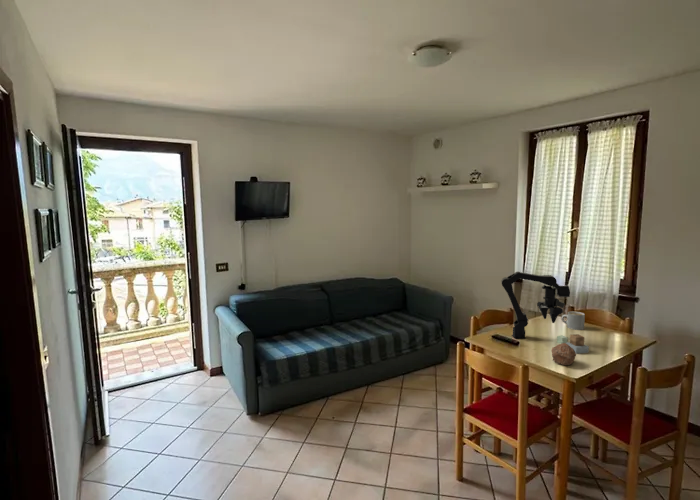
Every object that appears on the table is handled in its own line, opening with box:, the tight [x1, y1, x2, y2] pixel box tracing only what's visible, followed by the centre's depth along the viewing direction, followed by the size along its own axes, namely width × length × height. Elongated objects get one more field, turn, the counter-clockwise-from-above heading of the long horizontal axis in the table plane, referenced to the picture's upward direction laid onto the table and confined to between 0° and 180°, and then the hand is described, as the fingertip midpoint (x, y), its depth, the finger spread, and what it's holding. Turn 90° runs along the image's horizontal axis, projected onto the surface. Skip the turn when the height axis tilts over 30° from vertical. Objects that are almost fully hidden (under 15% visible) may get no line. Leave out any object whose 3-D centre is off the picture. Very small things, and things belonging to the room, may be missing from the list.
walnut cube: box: [569, 334, 585, 346], centre depth 217 cm, size 5×5×5 cm
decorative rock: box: [550, 343, 577, 366], centre depth 200 cm, size 13×11×10 cm
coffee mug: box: [561, 311, 586, 331], centre depth 260 cm, size 13×10×10 cm
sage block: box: [556, 334, 569, 344], centre depth 230 cm, size 4×4×4 cm
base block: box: [566, 341, 590, 355], centre depth 217 cm, size 8×8×4 cm
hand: (549, 320), depth 235 cm, fingers open, 9 cm apart
